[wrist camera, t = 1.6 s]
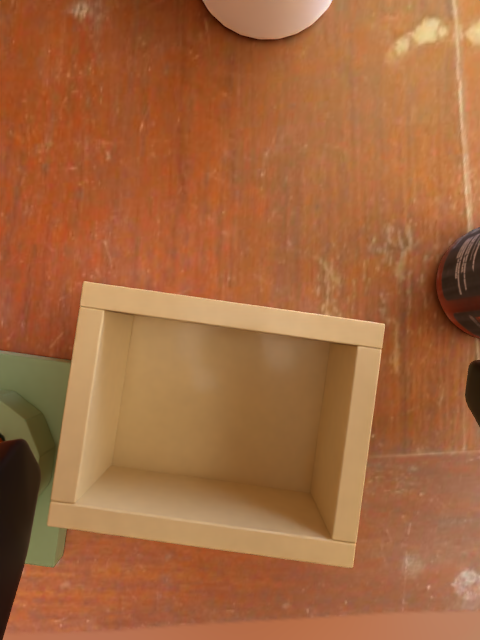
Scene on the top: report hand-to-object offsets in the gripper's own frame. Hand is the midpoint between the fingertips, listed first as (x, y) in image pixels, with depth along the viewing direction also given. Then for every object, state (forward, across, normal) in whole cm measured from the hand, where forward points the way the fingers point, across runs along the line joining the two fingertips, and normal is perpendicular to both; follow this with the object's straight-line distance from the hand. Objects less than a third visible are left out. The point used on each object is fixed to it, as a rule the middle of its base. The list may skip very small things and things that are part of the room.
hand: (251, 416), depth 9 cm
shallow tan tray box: (+11, +1, +8) cm, 14 cm away
